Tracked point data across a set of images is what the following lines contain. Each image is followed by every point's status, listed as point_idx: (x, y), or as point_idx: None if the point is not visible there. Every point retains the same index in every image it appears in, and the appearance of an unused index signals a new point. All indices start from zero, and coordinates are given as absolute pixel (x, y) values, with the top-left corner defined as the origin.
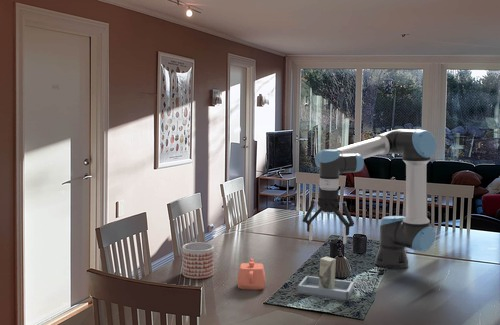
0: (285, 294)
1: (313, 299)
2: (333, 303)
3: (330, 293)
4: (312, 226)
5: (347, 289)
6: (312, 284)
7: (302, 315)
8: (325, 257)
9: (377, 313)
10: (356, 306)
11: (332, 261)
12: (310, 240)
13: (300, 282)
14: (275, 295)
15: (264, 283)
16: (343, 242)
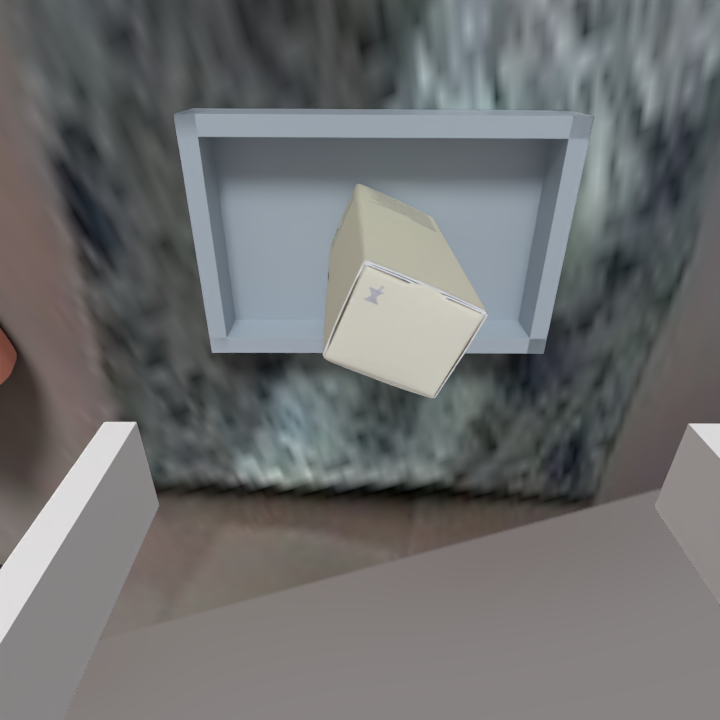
0: (168, 363)
1: (336, 376)
2: (449, 389)
3: None
4: (13, 686)
5: (537, 308)
6: (260, 164)
7: (340, 539)
8: (368, 310)
9: (669, 428)
10: (571, 385)
11: (454, 364)
12: (149, 506)
13: (203, 294)
14: (127, 394)
15: (3, 373)
16: (670, 524)
